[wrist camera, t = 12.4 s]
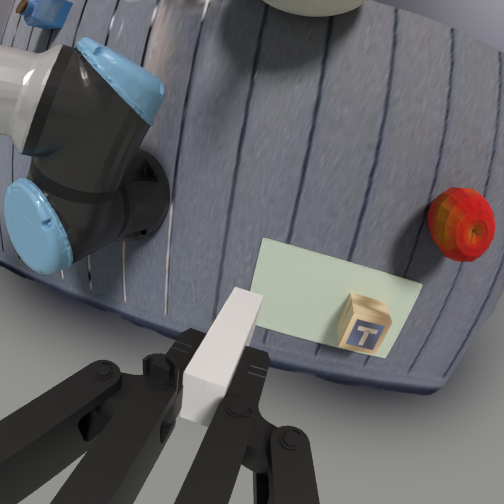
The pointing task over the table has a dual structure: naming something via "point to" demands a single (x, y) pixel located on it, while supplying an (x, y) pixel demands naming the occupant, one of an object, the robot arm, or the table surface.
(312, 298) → the felt mat
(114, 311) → the table surface
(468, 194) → the apple
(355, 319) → the wooden block
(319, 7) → the kettle
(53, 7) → the blue corked bottle
